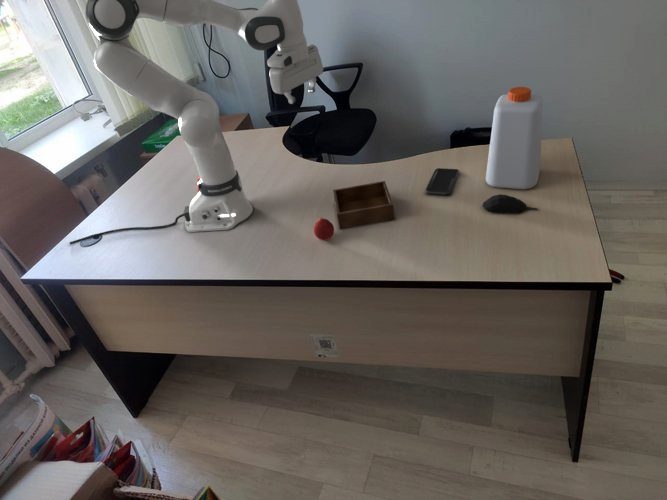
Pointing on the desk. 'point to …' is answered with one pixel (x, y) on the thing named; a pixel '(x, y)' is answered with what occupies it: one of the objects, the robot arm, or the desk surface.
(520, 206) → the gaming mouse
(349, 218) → the wooden box
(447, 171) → the phone
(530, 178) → the plastic bottle
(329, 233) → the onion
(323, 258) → the desk surface
